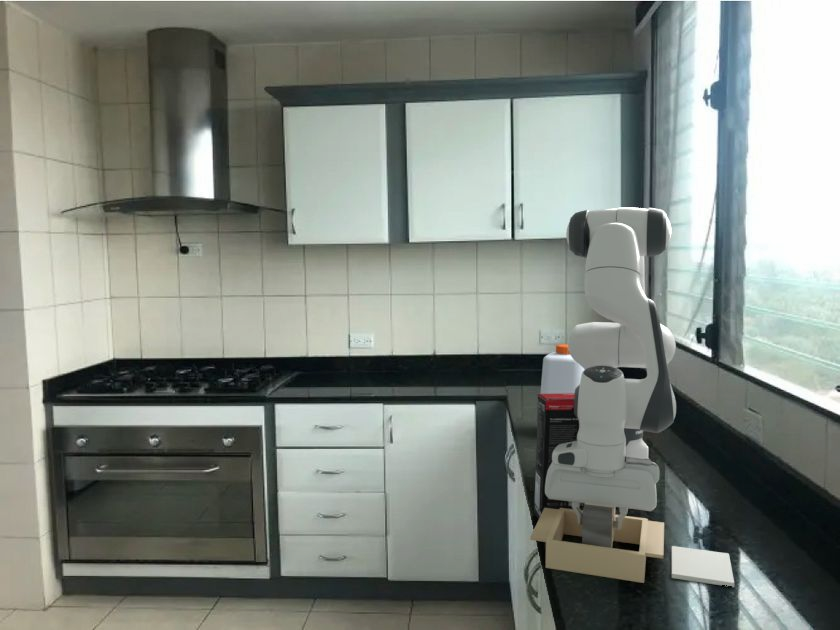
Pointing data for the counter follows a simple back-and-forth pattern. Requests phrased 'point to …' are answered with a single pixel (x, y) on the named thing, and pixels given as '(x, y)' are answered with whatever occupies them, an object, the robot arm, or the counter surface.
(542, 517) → the carton
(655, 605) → the counter surface
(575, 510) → the robot arm
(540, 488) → the graphics card box
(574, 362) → the plastic bottle
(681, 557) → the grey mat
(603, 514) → the block
